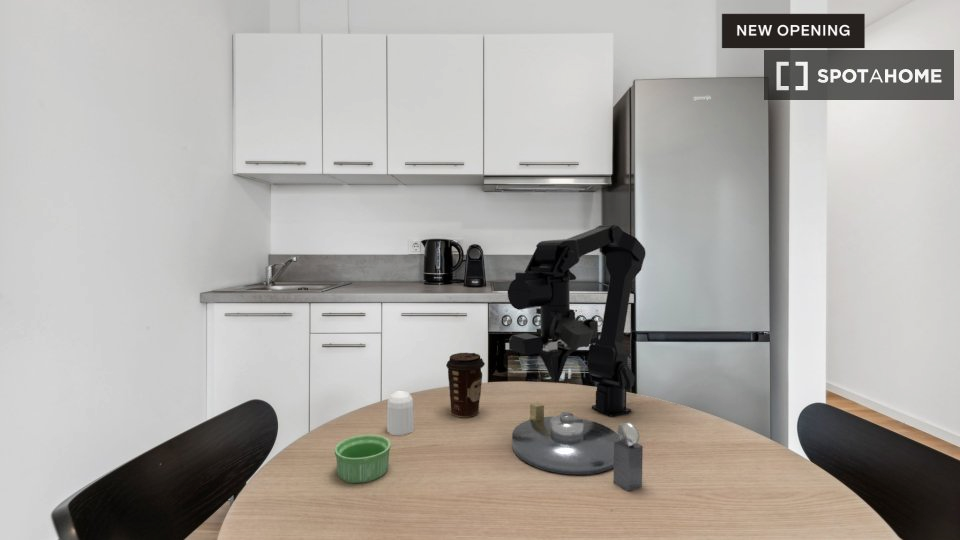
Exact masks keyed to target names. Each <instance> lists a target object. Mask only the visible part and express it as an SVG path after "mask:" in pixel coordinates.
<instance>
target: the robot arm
mask: <svg viewBox="0 0 960 540" xmlns="http://www.w3.org/2000/svg"><path fill="white" fill-rule="evenodd" d="M596 250H599V252H600V254H601V255H602V256H603V257H604V258H605V260H604V261H605V262H604V265H605V268H606V270H607V272H608V275H609V280H608V282H609V283H608V287H607V293H606V300H605V305H604V312H603V318H602V323H601V324H602V325H601V331H600V336H599V326H598V321H597V320H595V319H594V318H588V319H587V318H586V319H584V321H583V320H578V319H576V312H575V310H574V309H571V307H570V281H575V280H576V279H577V277H576V275H575V273H573V272H572V271H571V270H570V269H571V268H573V267H575V265H577V264H578V263H579V262H580V259H581V258H582V257H583V256H586V255H588V254H589V253H593V252H594V251H596ZM645 257H646V249H645V247H644V246H643V244H642V243H641V241H639V239H638V238H636V237H635V236H633V235H631V234H629V233H628V232H626V231H624V230H623V229H622V228H621V227H620V226H618V225H616V224H607V225H606V224H605V225H604V224H601V225H598V226H596V227H595V228H592V229H590V230H587V231H585V232H582V233H579V234H577V235H574V236H571V237H568V238H564V239H550V240H542V241H540V242H538V243H537V244H536V245H535V250H534V252H533V254H532V256H531V258H530V260H529V263H528V264H527V266H526V268H525V271H524V272H523V271H521V272H520V271H518V272H515V274H514V276H515V279H513V280H512V282H511V283H510V284H509V287H508V289H507V298H508V302H509V303H510V306H512V307H513V308H514V309H516V310H517V311H519V310H525V309H526V310H527V309H532V308H536V310H535V311H536V314H538V315H540V328H536V334H537V335H535V334H530V333H525V332H524V333H518V334H512V335H511V336H510V338H509V340H508V350H510V351H513V352H516V353H519V354H521V355H523V356H524V355H525V356H526V355H527V356H531V355H536V354H538V355H539V356H540V359H541V360H542V361H543V363H544V366H545V368H546V370H547V372H548V374H549V377H550V379H551V381H552V382H553V383H559V381H560V379H561V377H562V374H563V370H564V368H565V365H566V362H567V359H568V358H569V356H570V355H571V354H572V353H573V352H575V351H577V350H578V349H580V348H588V355H587V358H586V367H587V371H588V376H589V380H590V382H592V383H593V382H594V383H596V390H595V404H594V405H591V409H594V410H596V411H597V412H600V413H602V414H605V415H607V416H609V417H616V416H619V415H625V414H628V413H632V408H630V407H627V390H631V389H632V387H634V385H635V380H636V376H635V375H634V373H633V372H632V370H631V368H630V366H629V365H628V359H629V355H628V353H627V350H626V347H625V345H624V342H623V341H624V339H623V338H624V333H625V328H626V327H625V326H626V321H627V317H628V310H629V302H630V298H631V289H632V282H633V281H634V279H635V278H636V277H637V275H638V274H639V273H640V272H641V270H642V268H643V265H644V260H645ZM538 335H540V336H538Z"/></svg>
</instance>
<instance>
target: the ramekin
mask: <svg viewBox="0 0 960 540" xmlns="http://www.w3.org/2000/svg"><path fill="white" fill-rule="evenodd" d="M391 446H392V443H391V440H389V439H388V438H387V437H385V436H383V435H377V434H362V435H360V434H359V435H356V436H351V437H348V438H345V439H343V440H341V441H340V442H339V443H337V444H336V445H335V447H334V455H335V457H336V458H335V460H336V467H337V470H336V471H337V474H338V476H339V478H340V479H341V480H342V481H344V482H347V483H350V484H351V483H352V484H362V483H368V482H372V481H374V480H377V479H379V478H381V477H383V476H384V475H385V474H386V473H387V471H388V469H389V459H390V450H391Z"/></svg>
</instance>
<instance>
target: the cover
mask: <svg viewBox="0 0 960 540" xmlns="http://www.w3.org/2000/svg"><path fill="white" fill-rule="evenodd" d="M581 419H582V418H580V417H577V416H575V415H574V414H573V413H572V412H568V411H565V412H561V413H560V414H558V415H555V416H554V417H552V418H551V419H550V437H551V439H552V440H554V441H556V442H559V443H563V444H576V443H580V442H581V441H583V420H581Z"/></svg>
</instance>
